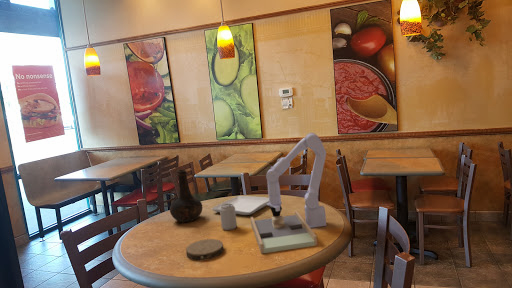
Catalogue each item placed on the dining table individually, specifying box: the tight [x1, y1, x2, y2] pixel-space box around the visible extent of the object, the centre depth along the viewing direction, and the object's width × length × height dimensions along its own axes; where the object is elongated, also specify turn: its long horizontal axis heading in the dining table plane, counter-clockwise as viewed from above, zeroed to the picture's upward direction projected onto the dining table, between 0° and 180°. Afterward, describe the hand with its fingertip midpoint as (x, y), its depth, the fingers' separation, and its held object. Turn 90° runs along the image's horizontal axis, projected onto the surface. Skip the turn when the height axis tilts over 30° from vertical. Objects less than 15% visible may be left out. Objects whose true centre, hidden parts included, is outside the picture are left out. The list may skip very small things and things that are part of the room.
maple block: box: [271, 215, 285, 228], centre depth 183 cm, size 5×5×4 cm
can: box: [219, 204, 238, 231], centre depth 192 cm, size 8×8×12 cm
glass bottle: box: [169, 169, 203, 223], centre depth 211 cm, size 18×18×28 cm
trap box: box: [249, 210, 318, 254], centre depth 177 cm, size 24×36×4 cm, turn 7°
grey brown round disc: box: [185, 238, 225, 261], centre depth 166 cm, size 16×16×3 cm
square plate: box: [211, 195, 269, 216], centre depth 223 cm, size 27×27×4 cm
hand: (276, 221), depth 187 cm, fingers closed
